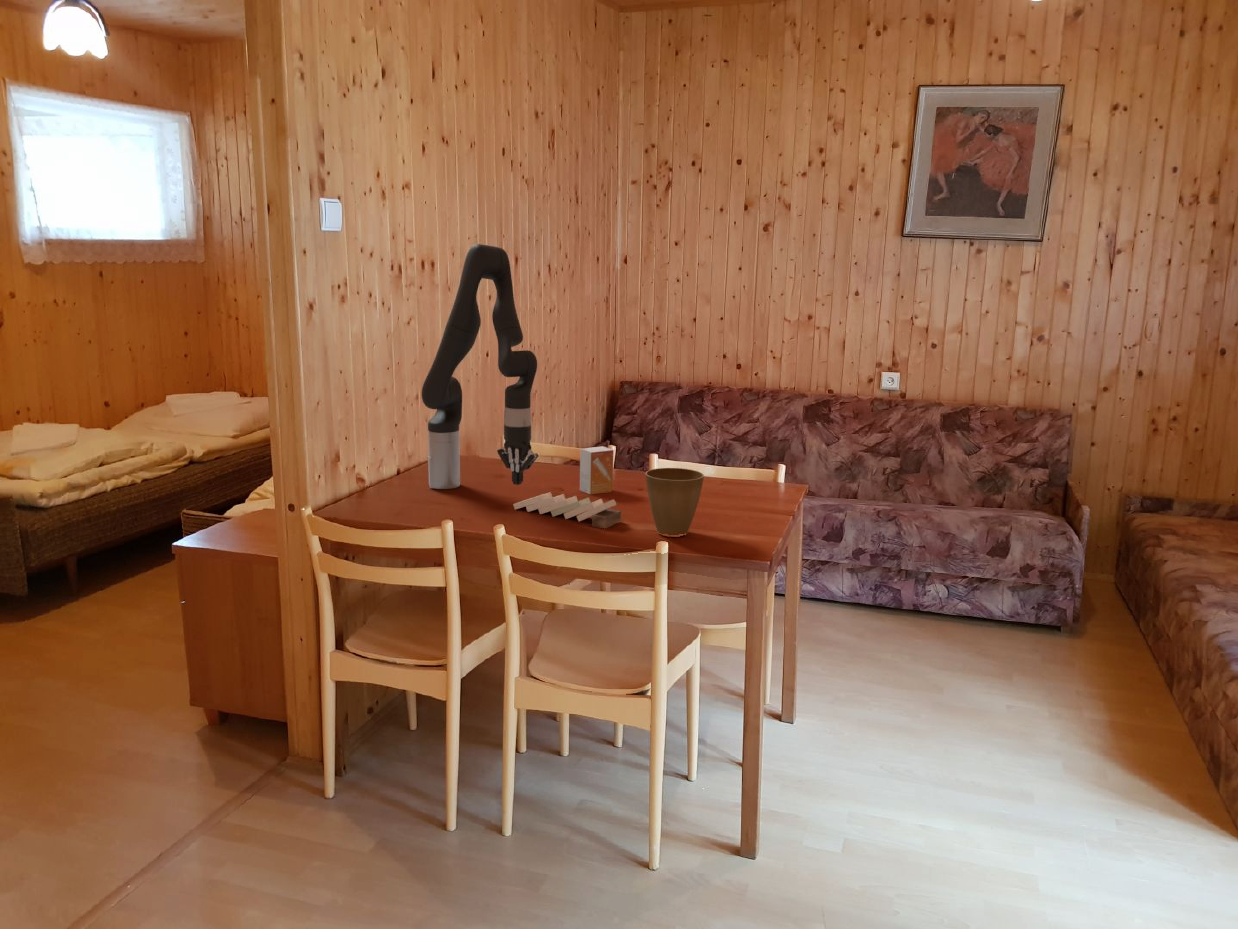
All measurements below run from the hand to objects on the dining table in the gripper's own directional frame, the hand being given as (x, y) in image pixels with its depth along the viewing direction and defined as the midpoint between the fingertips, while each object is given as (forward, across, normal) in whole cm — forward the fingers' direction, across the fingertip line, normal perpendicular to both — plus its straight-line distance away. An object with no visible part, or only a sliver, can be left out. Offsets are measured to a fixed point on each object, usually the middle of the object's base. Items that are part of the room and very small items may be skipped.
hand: (517, 484), depth 271 cm
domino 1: (+6, -1, 0) cm, 6 cm away
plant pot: (+6, -48, -2) cm, 49 cm away
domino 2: (+6, -5, 0) cm, 8 cm away
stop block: (+6, -30, 0) cm, 30 cm away
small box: (+7, -8, -28) cm, 30 cm away
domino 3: (+6, -9, 0) cm, 11 cm away
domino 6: (+6, -22, 0) cm, 23 cm away
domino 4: (+6, -14, 0) cm, 15 cm away
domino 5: (+6, -18, 0) cm, 19 cm away
